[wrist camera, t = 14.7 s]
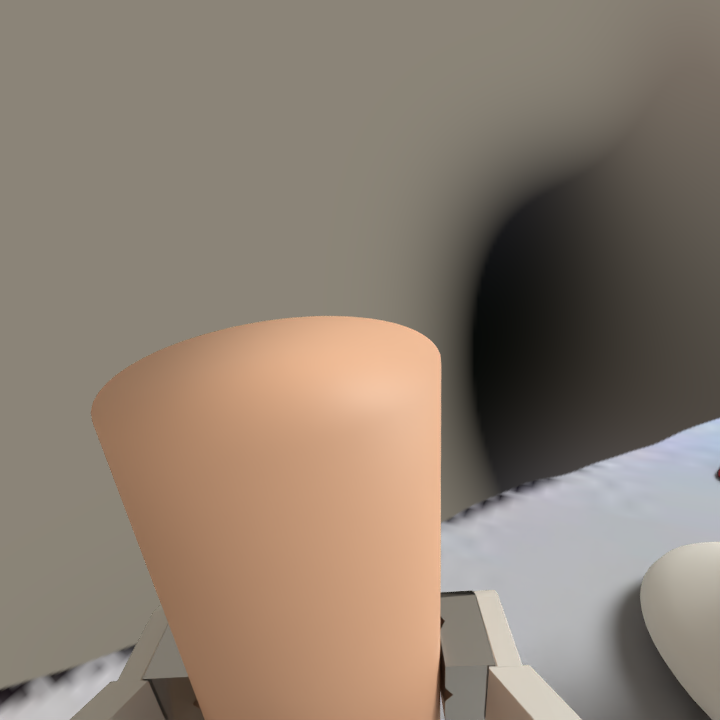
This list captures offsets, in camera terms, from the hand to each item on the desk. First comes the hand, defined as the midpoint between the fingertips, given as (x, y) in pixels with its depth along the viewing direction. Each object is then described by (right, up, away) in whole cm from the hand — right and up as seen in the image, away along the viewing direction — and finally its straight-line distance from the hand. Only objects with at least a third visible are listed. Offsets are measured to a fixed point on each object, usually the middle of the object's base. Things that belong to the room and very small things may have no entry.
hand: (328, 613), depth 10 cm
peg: (+1, -9, +3) cm, 9 cm away
